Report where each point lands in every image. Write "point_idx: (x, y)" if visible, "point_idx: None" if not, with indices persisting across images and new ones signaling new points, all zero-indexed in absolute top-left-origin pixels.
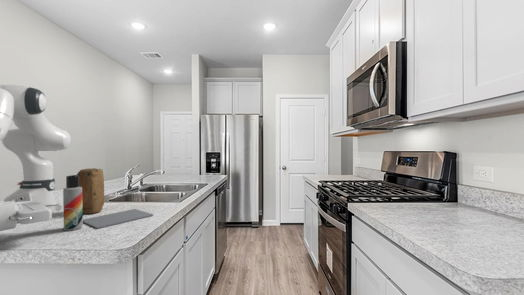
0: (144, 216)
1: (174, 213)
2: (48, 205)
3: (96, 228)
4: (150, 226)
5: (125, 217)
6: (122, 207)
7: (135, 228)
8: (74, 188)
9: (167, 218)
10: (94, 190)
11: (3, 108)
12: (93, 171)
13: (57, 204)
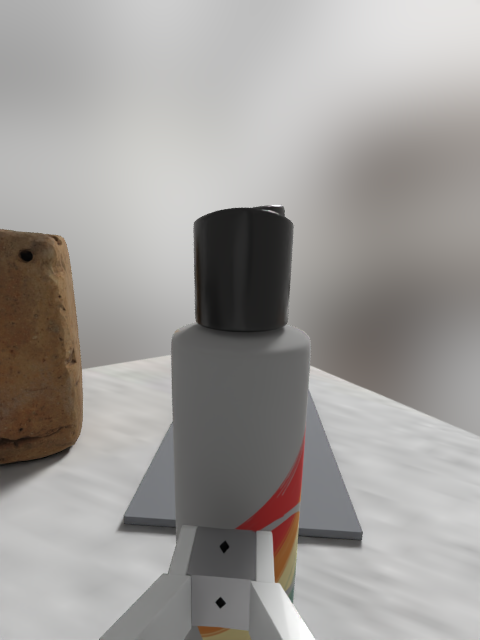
0: (313, 403)
1: (326, 373)
2: (150, 626)
3: (351, 537)
4: (441, 434)
5: None
6: (116, 388)
7: (445, 460)
8: (300, 332)
9: (368, 391)
10: (71, 339)
11: None
12: (52, 239)
13: (203, 536)
